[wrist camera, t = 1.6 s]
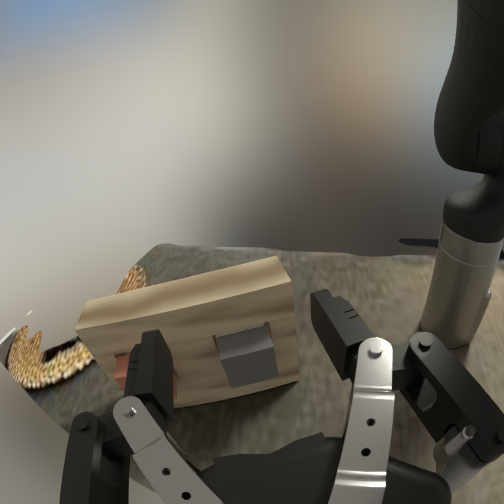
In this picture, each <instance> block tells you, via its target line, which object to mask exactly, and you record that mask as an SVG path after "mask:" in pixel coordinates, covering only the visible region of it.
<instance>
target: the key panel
mask: <svg viewBox="0 0 504 504" xmlns="http://www.w3.org/2000/svg"><path fill="white" fill-rule="evenodd" d="M261 323H264V326H265V325H266V327H267V330H268V332H269V335H270V338H271V340H272V343H273V346H274V351H275V357H276V363H277V369H278V376H279V377H276V378H272V379H268V380H265V381H261V382H257V383H253V384H249V385H245V386H241V387H237V388H231V385H230V383H229V381H228V378H227V376H226V373H225V371H224V368H223V366H222V363H221V361H220V355H219V349H218V343H217V337H218V334H221V333H225V332H230V331H234V330H238V329H242V328H246V327H250V326H254V325H257V324H261ZM155 329H159V330H160V332H161V334H162V336H163V338H164V340H165V342H166V344H167V346H168V347H169V349H170V351H171V354H172V358H173V373H174V375H175V376H176V383H177V399H173V401H174V408H180V407H187V406H193V405H199V404H204V403H210V402H215V401H220V400H225V399H229V398H234V397H238V396H243V395H247V394H251V393H255V392H259V391H263V390H267V389H270V388H274V387H277V386H281V385H284V384H288V383H291V382H294V381H298V380H299V369H298V354H297V340H296V328H295V316H294V304H293V293H292V283H291V280H290V278H289V276H288V275H287V273H286V271H285V270H284V268H283V266H282V265H281V263H280V261H279V260H278V258H277V256H273V257H269V258H265V259H261V260H257V261H253V262H249V263H245V264H241V265H236V266H232V267H228V268H224V269H220V270H216V271H212V272H208V273H204V274H199V275H195V276H191V277H187V278H183V279H179V280H174V281H170V282H166V283H162V284H157V285H153V286H149V287H145V288H140V289H136V290H132V291H128V292H123V293H119V294H115V295H110V296H106V297H102V298H98V299H93V300H89V301H87V302H86V304H85V306H84V309H83V311H82V313H81V316H80V318H79V320H78V323H77V325H76V328H75V331H76V333H77V334H78V336H79V337H80V339H81V340H82V342H83V343H84V345H85V346H86V347H87V349H88V350H89V352H90V353H91V354H92V356H93V357H94V359H95V360H96V361H97V363H98V364H99V365H100V367H101V368H102V369H103V370H104V372H105V373H106V374H107V376H108V377H109V378H110V379H111V381H112V382H113V383H114V384H115V385H116V387H117V388H118V389H119V390H120V391H121V393H122V394H123V395H124V390H123V389H122V387H121V386H120V385H119V384H118V383H117V381H116V380H115V379H114V374H115V368H116V363H117V357H118V356H124V355H130V352H131V351H132V349H133V347H134V346H135V344H140V343H141V338H142V333H143V332H145V331H150V330H155Z"/></svg>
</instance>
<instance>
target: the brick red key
mask: <svg viewBox="0 0 504 504" xmlns="http://www.w3.org/2000/svg"><path fill="white" fill-rule="evenodd" d="M129 356H130V355H124V356H118V357H117V363H116V368H115V374H114V379H115V380H116V381H117V383H118V384H119V385H120V386H121V387H122V389H123V390H124V389H125V382H126V375H127V371H128V369H127V368H128V364H129ZM173 399H177V383H176V376H175V375H174V373H173Z"/></svg>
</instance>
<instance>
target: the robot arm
mask: <svg viewBox="0 0 504 504" xmlns="http://www.w3.org/2000/svg"><path fill="white" fill-rule="evenodd" d="M456 29H457V30H456V39H455V46H454V52H453V56H452V60H451V64H450V67H449V70H448V73H447V76H446V78H445V81H444V84H443V87H442V90H441V93H440V95H439V99H438V102H437V107H436V112H435V121H434V136H435V142H436V146H437V150H438V152H439V154H440V156H441V158H442V159H443V161H445V162H446V164H448V165H449V166H452V167H453V168H456V169H459V170H463V171H469V172H475V173H482V174H484V177H483V179H482V180H481V181H480V182H479V183H478V184H476V185H475V186H473V187H471V188H469V189H466V190H463V191H459V192H456V193H453V194H451V195H450V196H449V197H448V198H447V199H446V201H445V204H444V210H443V219H442V226H441V232H440V239H439V245H438V251H437V256H436V261H435V266H434V271H433V275H432V280H431V284H430V288H429V292H428V296H427V300H426V304H425V307H424V310H423V314H422V318H421V322H420V326H421V331H422V332H418V333H416V334H414V335H413V336H412V337H411V339H410V342H407V343H400V344H389V343H388V342H387V341H386V340H384V339H381V338H376V337H375V336H374V334H373V333H372V332H371V330H370V329H369V328H368V326H367V325H366V324H365V322H364V321H363V320H362V318H361V317H360V316H359V315H358V313H357V312H356V310H354V308H353V307H352V305H351V304H350V303H349V301H347V300H345V299H344V298H342V297H340V296H338V297H335V298H333V296H332V295H331V293H330V292H329V291H328V290H327V289H324V290H320V291H317V292H313V293H311V296H310V298H311V320H312V324H313V327H314V330H315V332H316V333H317V335H318V337H319V339H320V341H321V343H322V344H323V346H324V348H325V350H326V352H327V354H328V355H329V357H330V359H331V361H332V363H333V365H334V366H335V368H336V370H337V372H338V374H339V376H340V378H341V379H342V381H343V380H345V379H348V378H350V380H351V382H352V387H351V394H350V399H349V405H348V410H347V416H346V421H345V425H344V429H343V433H342V438H340V437H326V438H324V435H323V433H322V432H321V433H318V434H315V435H312V436H309V437H305V438H302V439H299V440H296V441H294V442H292V443H290V444H288V445H287V446H285V447H283V448H281V449H279V450H277V451H275V452H273V453H270V454H237V455H231V456H225V457H219V458H213V459H214V465H212V466H210V467H208V468H206V469H204V470H203V471H202V470H201V469H200V468H199V467H198V466H197V465H196V464H195V463H194V462H193V461H192V460H191V459H190V457H189V456H188V455H187V454H186V453H185V452H184V450H183V449H182V448H181V447H180V446H179V444H178V443H177V442H176V441H175V440H174V438H173V437H172V436H171V435H170V433H169V432H168V431H167V430H166V422H170V421H174V401H173V358H172V354H171V351H170V349H169V347H168V346H167V344H166V342H165V340H164V338H163V336H162V334H161V332H160V330H159V329H155V330H150V331H145V332H143V333H142V338H141V343H140V344H135V346H134V347H133V349H132V351H131V352H130V356H129V364H128V368H127V369H128V371H127V375H126V382H125V389H124V397H123V398H122V399H120V400H119V401H118V402H117V403H116V405H115V406H114V409H113V411H112V412H110V413H107V414H105V415H102V416H99V417H96V416H95V415H94V414H92V413H90V412H83V413H80V414H79V415H77V416H76V417H75V419H74V420H73V423H72V426H71V431H70V436H69V441H68V446H67V451H66V457H65V463H64V469H63V477H62V484H61V493H60V504H128V495H129V493H128V491H129V466H130V455H131V454H133V458H134V460H135V462H136V463H137V465H138V466H139V468H140V469H141V471H142V472H143V474H144V475H145V477H146V478H147V480H148V481H149V482H150V484H151V485H152V487H153V488H154V489H155V491H156V492H157V493H158V495H159V496H160V497H161V499H162V500H163V501H164V502H165V504H451V498H452V497H451V495H452V494H453V493H454V492H456V491H457V490H458V489H459V488H460V487H462V486H463V485H464V484H465V483H466V482H468V481H469V480H470V479H471V478H472V477H473V476H474V475H475V474H477V473H478V472H479V471H480V470H481V469H482V468H484V467H485V466H487V465H488V464H490V463H491V462H493V461H494V460H496V459H497V458H498V457H500V456H501V455H502V454H504V414H503V412H502V411H501V410H500V409H499V407H498V406H497V405H496V404H495V402H494V401H493V400H492V399H491V398H490V396H489V395H488V394H487V393H486V392H485V390H484V389H483V388H482V387H481V386H480V384H479V383H478V382H477V381H476V380H475V379H474V377H473V376H472V375H471V374H470V373H469V372H468V371H467V370H466V368H465V367H464V366H463V365H462V364H461V363H460V362H459V361H458V360H457V358H456V357H455V356H454V355H453V354H452V353H451V352H450V351H449V350H448V348H457V347H460V346H462V345H464V344H466V345H470V344H471V342H472V340H473V338H474V335H475V333H476V331H477V329H478V327H479V325H480V323H481V320H482V318H483V316H484V313H485V311H486V308H487V306H488V303H489V301H490V298H491V289H490V285H491V282H492V279H493V276H494V273H495V269H496V266H497V263H498V259H499V255H500V252H501V248H502V244H503V240H504V0H458V9H457V28H456ZM392 390H400V392H401V393H402V394H403V396H404V397H405V399H406V400H407V401H408V403H409V404H410V406H411V407H412V408H413V410H414V411H415V413H416V414H417V416H418V417H419V418H420V420H421V421H422V423H423V424H424V426H425V427H426V429H427V430H428V432H429V433H430V434H431V436H432V437H433V439H434V440H435V442H436V443H437V444H436V445H435V447H434V451H433V456H434V459H435V462H436V472H435V473H434V472H431V471H428V470H425V469H422V468H419V467H416V466H413V465H411V464H408V463H405V462H403V461H400V460H397V459H395V458H392V457H390V456H389V449H390V442H391V433H392V423H393V412H394V392H393V391H392Z"/></svg>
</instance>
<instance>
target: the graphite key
mask: <svg viewBox="0 0 504 504" xmlns="http://www.w3.org/2000/svg"><path fill="white" fill-rule="evenodd" d="M217 343H218V349H219V355H220V361H221V363H222V366H223V368H224V371H225V373H226V376H227V378H228V381H229V383H230V385H231V388H237V387H241V386H245V385H249V384H253V383H257V382H261V381H265V380H268V379H272V378H276V377H279V376H278V369H277V363H276V357H275V351H274V346H273V343H272V340H271V338H270V335H269V332H268V330H267V327H266V325H265V326H261V327H257V328H254V329H250V330H246V331H242V332H238V333H234V334H230V335H225V336H221V337H217Z"/></svg>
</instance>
